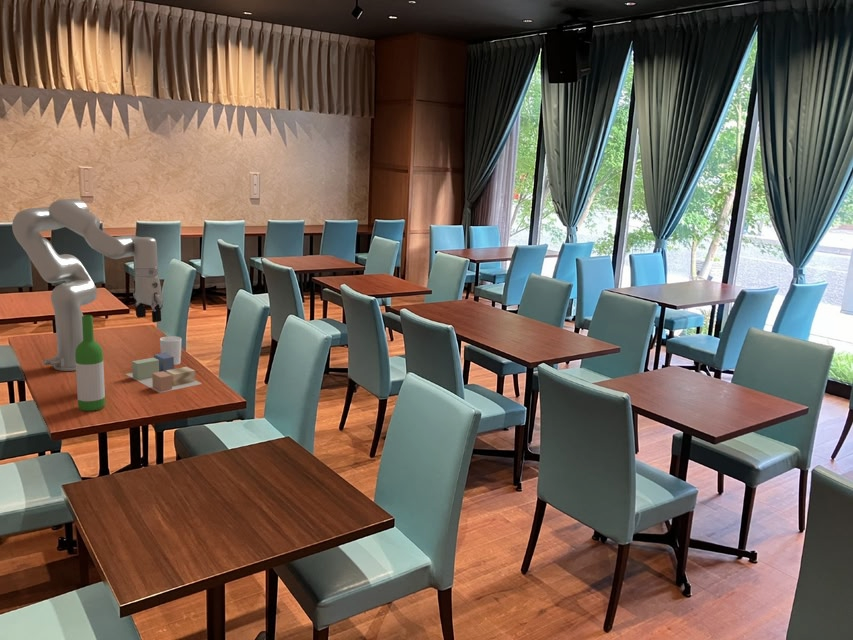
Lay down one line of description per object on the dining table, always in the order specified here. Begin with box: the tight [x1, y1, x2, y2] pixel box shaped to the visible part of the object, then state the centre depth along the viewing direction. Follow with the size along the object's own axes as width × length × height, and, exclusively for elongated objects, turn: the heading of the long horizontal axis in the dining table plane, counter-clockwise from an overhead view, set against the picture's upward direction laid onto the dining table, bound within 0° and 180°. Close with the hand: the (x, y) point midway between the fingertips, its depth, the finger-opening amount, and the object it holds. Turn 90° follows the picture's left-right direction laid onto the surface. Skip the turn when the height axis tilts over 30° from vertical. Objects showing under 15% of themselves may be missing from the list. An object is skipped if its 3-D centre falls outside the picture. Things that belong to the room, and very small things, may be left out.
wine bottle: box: [75, 314, 106, 412], centre depth 214 cm, size 8×8×30 cm
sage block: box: [131, 357, 159, 381], centre depth 249 cm, size 8×4×6 cm, turn 138°
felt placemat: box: [125, 372, 203, 394], centre depth 248 cm, size 16×26×1 cm, turn 48°
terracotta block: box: [152, 371, 172, 391], centre depth 238 cm, size 4×6×5 cm, turn 48°
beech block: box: [166, 366, 196, 385], centre depth 246 cm, size 8×6×4 cm
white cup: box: [159, 335, 182, 366], centre depth 266 cm, size 8×8×10 cm
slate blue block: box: [153, 352, 175, 372], centre depth 256 cm, size 7×4×6 cm, turn 48°
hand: (149, 319), depth 247 cm, fingers open, 9 cm apart
